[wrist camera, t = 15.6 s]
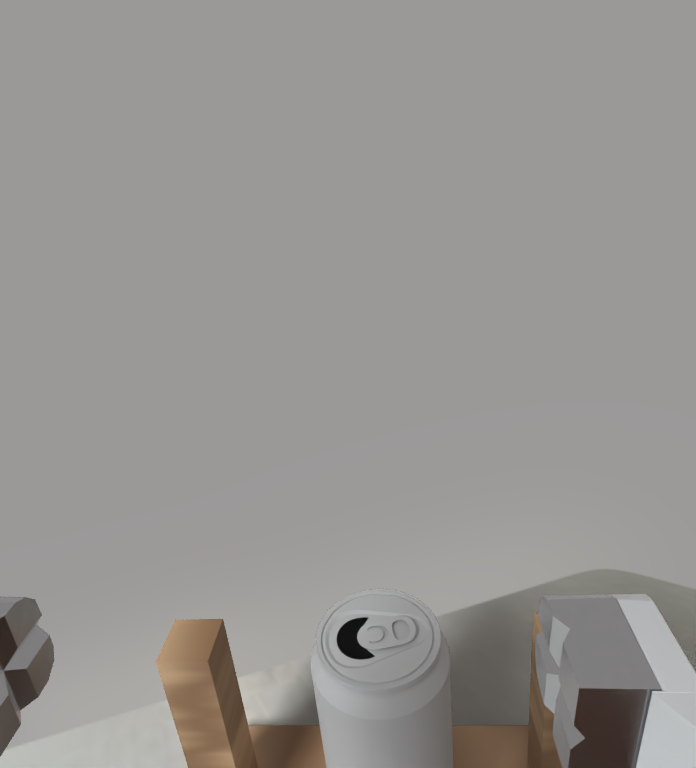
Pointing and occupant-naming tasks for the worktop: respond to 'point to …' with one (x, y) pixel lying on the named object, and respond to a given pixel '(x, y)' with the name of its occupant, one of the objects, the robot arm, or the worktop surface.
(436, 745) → the beverage can
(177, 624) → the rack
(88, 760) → the worktop surface
